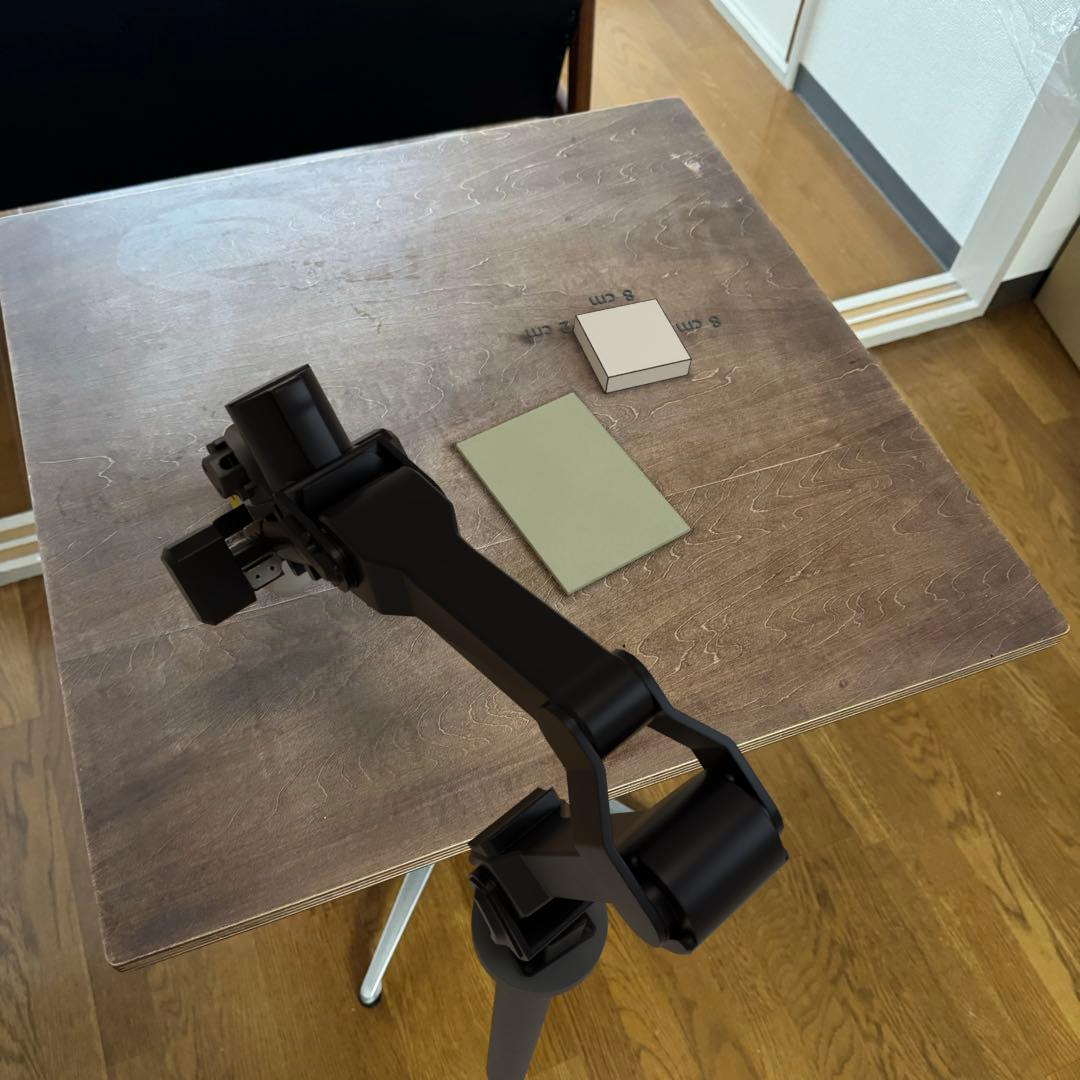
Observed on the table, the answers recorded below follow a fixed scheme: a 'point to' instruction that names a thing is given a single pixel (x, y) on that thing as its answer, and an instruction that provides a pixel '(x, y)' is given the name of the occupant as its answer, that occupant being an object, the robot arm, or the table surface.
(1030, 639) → the table surface
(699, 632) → the table surface
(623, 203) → the table surface
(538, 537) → the placemat
